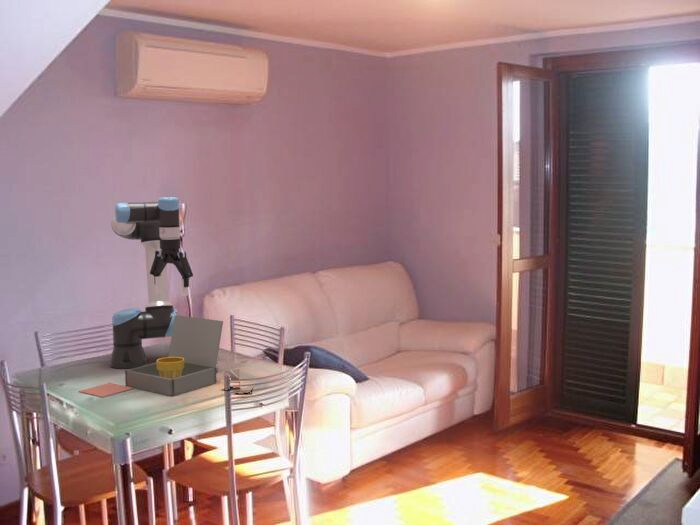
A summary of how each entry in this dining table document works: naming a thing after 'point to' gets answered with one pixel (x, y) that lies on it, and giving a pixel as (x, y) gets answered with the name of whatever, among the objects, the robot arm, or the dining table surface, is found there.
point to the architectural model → (233, 376)
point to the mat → (106, 390)
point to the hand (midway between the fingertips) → (171, 294)
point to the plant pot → (170, 367)
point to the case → (199, 358)
